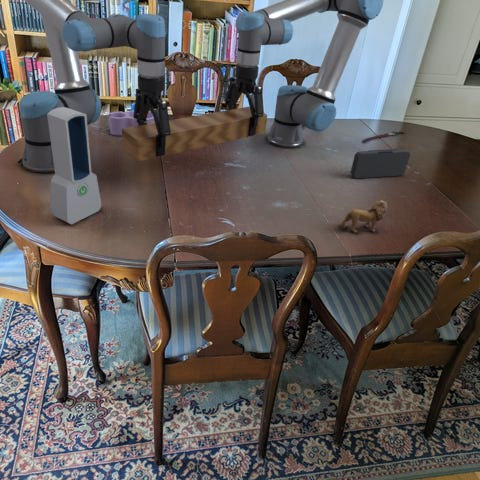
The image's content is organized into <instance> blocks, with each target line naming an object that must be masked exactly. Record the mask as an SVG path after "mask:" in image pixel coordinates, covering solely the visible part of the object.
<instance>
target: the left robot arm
mask: <svg viewBox="0 0 480 480" xmlns="http://www.w3.org/2000/svg"><path fill="white" fill-rule="evenodd" d="M23 1H24V2H26V3H27V5H29V6H30V7H32V8H33V9H34V10H35V11H36V12H37V13H39V14H40V16H41V21H42V25H43V29H44V34H45V38H46V41H47V46H48V50H49V54H50V58H51V62H52V66H53V71H54V75H55V79H56V84H55V86H54V87H53V90H54V91H51V90H41V91H40V90H37V91H32V92H29V93H26V94H24V95H23V96H22V97H21V98H20V100H19V103H18V104H19V116H20V119H21V126H22V132H23V137H24V148H23V153H22V157H20V159H18V161H16V162H17V164H18V165H19V164H21V163H22V166H23V168H24V169H25V170H27V171H29V172H33V173H39V174H46V173H55V169H54V162H53V154H52V147H51V139H50V132H49V124H48V117H47V113H49V112H50V111H51V110H53V109H55V108H59V107H65V108H69V109H72V110H75V111H78V112H81V113H84V114H86V116H87V126H89V125H91V124H93V123H96V122H97V121H98V120H99V118H100V116H101V114H102V101H101V98H100V96H99V95H98V92H97V91H96V90H94V89H93V88H91V83H89V82H88V81H86V80H85V79H84V75H83V70H82V65H81V61H80V56H79V52H89V51H90V52H91V51H97V50H103V49H104V50H105V49H113V48H115V49H116V48H122V47H128V48H131V49H134V50H136V53H137V55H136V61H137V66H136V67H137V69H136V70H137V74H138V75H137V88H135V102H134V109H133V110H134V119H137V123H138V126H140V125H146V124H147V123H146V120H147V119H146V118H147V115H148V112H149V111H151V113H152V114H153V117H154V121H155V125H156V129H157V132H158V135H156V156H157V157H156V158H159V157H158V156H161V157H164V156H163V155H165V145H166V136H168V135H171V132H170V124H169V120H170V117H169V110H168V107H169V101H168V100H167V99H165V100H163V99H162V92H163V91H164V90H165V88H166V87H165V86H166V85H165V84H166V80H165V79H166V78H165V74H166V71H165V70H166V69H165V67H166V66H165V65H166V63H165V61H166V34H167V33H166V22H165V18H164V17H163V16H162V15H158V14H154V13H139V14H137V15H136V18H132V17H129V16H126V15H124V14H117V13H113V14H110V15H109V16H108V17H97V18H92V17H90V16H89V15H88V14H86V13H85V12H83V10H81V9H80V8H78V7H77V6H76V5H75V4H73V2H71V1H69V0H23ZM138 113H139V114H138ZM144 122H145V123H144ZM165 156H166V155H165Z"/></svg>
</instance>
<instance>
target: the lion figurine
mask: <svg viewBox="0 0 480 480" xmlns="http://www.w3.org/2000/svg"><path fill="white" fill-rule="evenodd" d="M387 211H388V202H386V201H384V200H383V199H381V200H377V201H375V203H374V205H373V206H372V207H371V208H370V209H367V210H364V209H363V210H362V209H359V208H358V209H357V208H353V209H350V211H349V212H347V214H346V215H345V217H344V219H343V220H342V222H341V227H340V228H339V230H340V231H342V230H343V229H345V228H346V223H347V222H350V221H351V225H350V229H351V230H352V232H353V233H355V234H356V233H358V230H357V229H355V227H356V225H357V224H358V222H362V223H365V225H364V226H365V227H366V228H370V231H371V232H372V233H374V232H376V229H375V227H376V225H377V222H380V221H381V220H383V219H384V217H385V216H386V214H387ZM370 223H371V226H370Z"/></svg>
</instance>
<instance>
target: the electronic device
mask: <svg viewBox="0 0 480 480" xmlns="http://www.w3.org/2000/svg"><path fill="white" fill-rule="evenodd" d="M47 117H48V124H49V132H50V139H51V147H52V154H53V162H54V169H55V172H54V174H53V176H52V178H51V179H50V190H49V191H50V192H49V195H50V196H49V210H50V212H51V214H52V216H54V217H55V218H57V219H59V220H61V221H63V222H65V223H68V224H69V225H74V224H76V223H77V222H80V221H81V220H83V219H85V218H87V217H90V216H91V215H93V214H96V213H98V212H99V211H100V210H101V207H102V200H101V193H100V188H99V183H98V177H97V174H95V172H92V163H91V151H90V142H89V141H90V140H89V129H88V125H87V116H86V114H84V113H81V112H78V111H75V110H72V109H69V108H65V107H59V108H55V109H53V110H51V111H50V112H49V113H47Z"/></svg>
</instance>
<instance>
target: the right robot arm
mask: <svg viewBox="0 0 480 480" xmlns="http://www.w3.org/2000/svg"><path fill="white" fill-rule="evenodd" d="M383 5H384V0H282V1H279V2H276V3H273V4H271V5H268V6H265V7H263V8H260V9H257V10H255V11H251V10H248V11H247V10H243V11H241V12H240V13H239V14H238V15H237V17H236V18H235V28H236V30H237V32H238V33H237V35H238V36H237V49H236V60H235V62H236V65H235V73H234V74H235V76H231V77H230V76H229V78H230V81H229V88H227V89H228V92H227V91H226V94H227V95H225V97H226V98H224V103H225V104H224V105H226V104H227V105H228V107H229V109H228V110H232V109H238V107H237V106H238V105H237V103H238V102H239V100H240V98H241V96H242V95H245V98H246V99H247V102H248V107H249V106H250V110H251V114H252V117H250V122H249V132H248V136H250V137H253V136H252V135H254V136H256V135H255V133H256V127H257V125H258V118H259V117H263V113H264V104H263V90H264V88H263V86H262V85H257V79H258V77H259V69H260V67H259V65H260V59H261V50H262V46H273V45H274V46H276V45H279V46H281V45H287V44H289V43H290V41H291V40H292V38H293V36H294V26H293V24H292V22H294V21H298V20H300V19H302V18H305V17H307V16H310V15H312V14H315V13H319V14H324V13H325V12H337V13H336V16H337V19H338V22H337V25H336V27H335V30H334V33H333V35H332V37H331V40H330V42H329V45H328V47H327V50H326V52H325V54H324V56H323V60H322V62H321V65H320V67H319V70H318V73H317V75H316V78H315V79H314V82H313V85H312V86H310V87H307V86H303V85H295V84H292V85H291V84H289V85H288V84H287V85H282V86H280V87H279V88H278V91H277V95H276V102H275V110H274V111H275V112H274V118H273V122H272V124H271V127H270V129H269V131H268V134H267V138H266V140H267V141H268V142H269V143H270V144H271V145H274V146H277V147H281V148H289V149H291V148H298V147H302V146H303V144H304V133H303V128H304V127H305V128H307V129H308V130H312V131H313V132H322V131H325V130H326V129H328V128H329V127H330V126H331V125H332V124H333V123H334V121H335V120H336V116H337V107H336V106H335V102H336V96H335V93H336V90H337V87H338V85H339V83H340V80H341V78H342V75H343V74H344V71H345V68H346V66H347V64H348V61H349V59H350V56H351V54H352V52H353V50H354V48H355V45H356V42H357V40H358V37H359V35H360V33H361V31H362V30H363V29H364V28H366V27H368V25H369V22H370V21H371V20H374V19H376V18H377V17H378V16H379V15H380V13H381V11H382V9H383ZM227 105H226V106H227ZM255 113H256V114H255Z"/></svg>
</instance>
